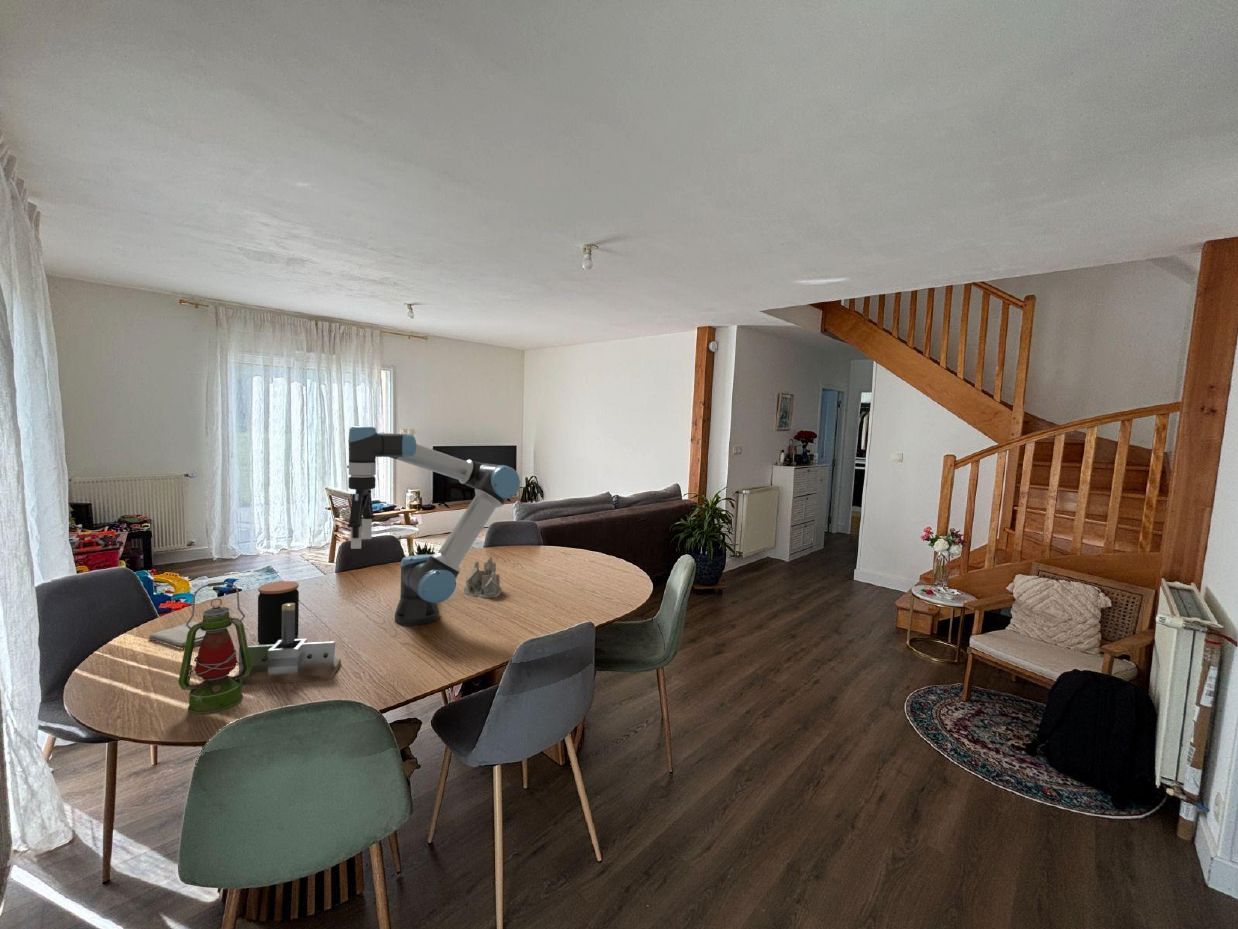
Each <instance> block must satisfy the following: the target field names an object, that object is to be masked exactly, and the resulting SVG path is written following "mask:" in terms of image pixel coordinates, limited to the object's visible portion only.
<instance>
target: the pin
mask: <svg viewBox="0 0 1238 929" xmlns="http://www.w3.org/2000/svg"><path fill="white" fill-rule="evenodd" d="M282 648H295V603H287V604H283V605H282Z"/></svg>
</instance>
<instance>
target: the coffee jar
mask: <svg viewBox="0 0 1238 929" xmlns="http://www.w3.org/2000/svg"><path fill="white" fill-rule="evenodd" d="M299 586H300V583H299V582H296V581H293V580H292V581H291V580H290V581H289V580H282V581H272V582H268V583H265V584H262V585H260V586H258V588H257V591H258V592H259V594H258V595H257V643H258V645H272V644H275V643H276V642H277V641H278V640H282V605H283V604H287V603H295V639H298V636H299V618H300V616H299V614H300V612H299V611H300V608H299V604H300V595H299V594H300V591H299V589H298V588H299Z"/></svg>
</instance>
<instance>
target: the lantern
mask: <svg viewBox="0 0 1238 929" xmlns="http://www.w3.org/2000/svg"><path fill="white" fill-rule="evenodd" d="M225 585H228V586H232V587H233V588H234V589H235V591H236V600H237V601H236V603H237V611H238V612H239V613H240V615H242V617H241V619H240V618H238V617H231V616H230V610H231V609H230V608H229V607H228V606H227V607H225V606H221V605H222V603H223V601H222V599H221V598H216V599H212V600H211V602H210V606H211V608H209V609H206V610H204V611H203V612H202V615H203V616H202V621H201V622H197V623H198V624H195V625H193V626H192V627H190V626H188V624H189V623H190V622H192V619H193V618H194V616H195V605H196V596H197V594H198V592H200V590H202V589H203V588H206V587H208V588H209V587H217V586H218V587H219V586H225ZM213 601H220V603H219V604H218V605H216V606H215V605H214V604H213ZM191 610H192V611H191V615H190V618H189V619H188V621H187V622H186V623H185V624H186V626H187V627H188V628H189V629H190V630H189V631H188V634H187V639H186V644H185V649H184V650H183V656H182V661H181V664H180V665H181V666H180V671H179V677H178V684H179V687H180V689H181V690H182V691H189V694H188V696H189V697H188V698H189V699H188V704H189V705H188V707H187V712H188V714H189V715H193V716H209V715H215V714H219V713H223V712H225V711H228V710H230V709H233V708H234V707H236V706H238V705H239V704H240V703H241V702H243V699H244V694H243V693H242V692H243V691H242V690H243V685H242V680H241V679H242V678H244V677H246V676H248V675H249V672H250V670H251V662H250V656H249V651H248V646H249V645H248V640H247V636H246V630H245V625H244V622H243V620H244V619H245V617H246V615H245V613H244V612H243V611H242V610H241V608H240V593H239V589H238V586H236V585H235V584H233V583H231V582H225V581H220V582H218V581H217V582H209V583H207V584H205V585H202V586H200V587H198V589H197V590H196V591H195V592H194V594H193V596H192V607H191ZM232 624H233V625H234V626H235V630H236V635H237V641H238V646H239V647H240V652H241V658H242V663H239V661H238V659H237V650H235V645H234V641H233V639H232V636H231V635H230V632H229V631H228V628H229V627H230V626H232ZM199 629H201V630H203V631H206V633H205V635H204V637H203V640H202V643H201V645H199V648H198V652H197V656H196V657H194V659H193V661H194V662H195V667H194V669H193V664H191V663H192V657H193V653H194V652H193V651H194V647H195V646H194V642H195V636H196V632H197V631H198V630H199ZM239 647H238V648H239ZM239 664H240V665H243V668H244V669H243V671H242V674H239V675H237V676H234V675H233V676H234V677H233V676H232V675H230V673H231V672H232V671H233V670H235V669H236V666H239ZM192 669H193V670H192ZM194 671H195V673H193V672H194ZM192 676H197V677H200V678H202V680H203V681H201V682H200V683H197V684H193V683H192V684H190V681H191V677H192Z"/></svg>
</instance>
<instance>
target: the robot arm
mask: <svg viewBox="0 0 1238 929" xmlns="http://www.w3.org/2000/svg"><path fill="white" fill-rule="evenodd" d="M348 431H349V432H348V440H347V442H348V464H347V465H346V468H347V469H348V475H349V476H348V478H347V479H348V486H347V487H348V489H349V490H355V493H352V494H351V506H350V514H349V522H348V524H347V528H350V549H352V550H353V549H354V550H356V549H357V550H358V549H360V550H361V549H362V540H372V535H373V534H372V528H373V526H372V522H373V520H372V519H375V515H374V510H373V501H372V490H375V488H376V479H377V478H376V477H375V476H376V475H377V474H376V473H377V472H376V471H377V469H376V468H377V460H376V459H377V458H390V459H394V460H397V461H400V462H404V463H406V464H409V465H411V466H416V467H418V468H421V469H425V470H428V471H431V472H434V473H437V474H440V475H442V476H446V477H449V478H453V479H455V480H458V481H459V483H460V484H462V485H465V486H468V487H471V488H472V489H474V493H475V496H474V497H473V499H472V501H471V502H470V503H469V505H468V506H467V508H466V510H465V511H464V512H463V514H462V515H461V517H460V519H459V520H458V522H457V523H456V524H455V526H454V528H453V529H452V530H451V532H450V533H449V535H448V537H446V540H445V541H444V543H443V544H442V546H441V547H440V549H439V550H438V552H436V553H434V554H415V555H408V556H404V557H403V558H402V559H401V560H400V561H401V563H400V594H399V596H400V598H399V601H398V604H397V607H396V609H395V611H394V622H395V623H397V624H399V625H405V626H418V625H419V626H420V625H425V624H429V623H431V622H434V621H436V620H437V619H439V617H440V608H439V606H438V604H439V603H442V602H445V601H446V600H448V599H449V598H450V597H451V596H452V595H453V594H454V593H455V591H456V587H457V577H458V576H459V574H460V572H461V570H460V565H461V563H462V562H463V560H464V558H465V556H466V555H467V554H468V552H469V550H470V549H471V547H472V546H473V544H474V542H476V539H477V538H478V536H479V535H480V533H481V532H482V530H483V528H484V527H485V526H486V524H487V523H488V521H489V519H490V517H491V516H492V514H493V513H494V512H495V510H496V509H497V508H500V507H503V505H504V504H505V502H506V501H507V499H510V498H514V496H515V495H516V494H517V493H518V491H519V490H520V487H521V480H520V475H519V473H518V472H517V471H516V470H515V469H514V468H513V467H510V466H507V465H506V464H494V463H488V462H487V463H485V462H480V461H479V462H478V461H475V460H472V459H467V460H464V459H461V458H458V457H456V456H452V455H449V454H447V453H444V452H441V451H437V450H435V449H433V448H429V447H427V446H424V445H421V444H418V443H417V440H416V437H415V436H414V435H413V434H407V433H390V432H389V433H386V432H384V431H383V432H377V429H376V427H374V426H354V425H353V426H350V428H349V430H348Z"/></svg>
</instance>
